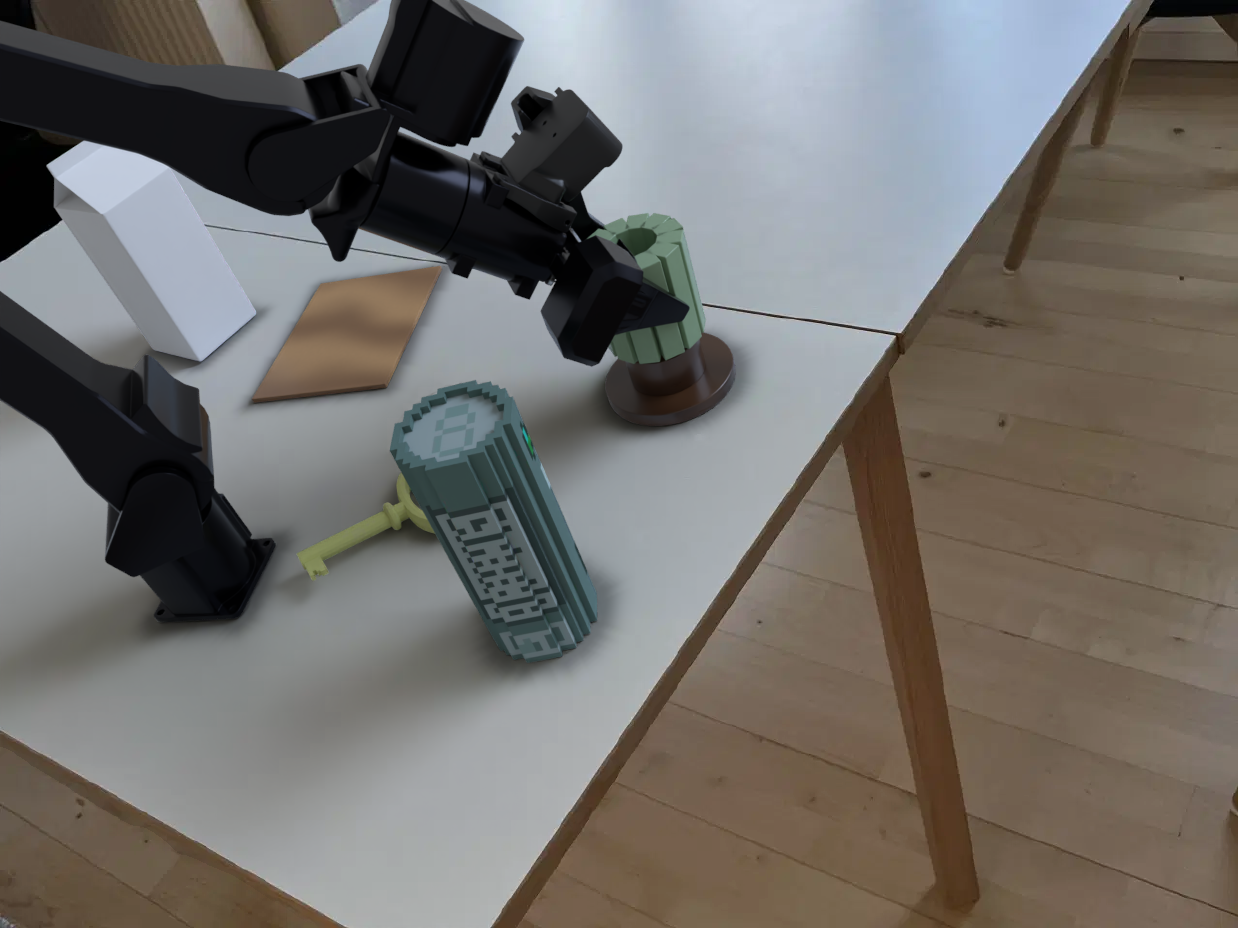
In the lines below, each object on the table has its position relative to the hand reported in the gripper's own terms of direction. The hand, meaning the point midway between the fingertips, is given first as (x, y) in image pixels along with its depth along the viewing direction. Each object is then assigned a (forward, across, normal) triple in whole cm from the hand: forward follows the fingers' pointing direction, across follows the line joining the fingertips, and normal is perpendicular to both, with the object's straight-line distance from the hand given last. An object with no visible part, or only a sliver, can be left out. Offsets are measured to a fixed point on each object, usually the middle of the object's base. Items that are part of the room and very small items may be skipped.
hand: (666, 289), depth 69 cm
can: (-6, -15, +16) cm, 23 cm away
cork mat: (-10, +24, +20) cm, 33 cm away
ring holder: (+4, 0, +6) cm, 7 cm away
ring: (+1, 0, +3) cm, 3 cm away
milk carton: (-19, +34, +29) cm, 49 cm away
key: (-10, -2, +21) cm, 23 cm away
